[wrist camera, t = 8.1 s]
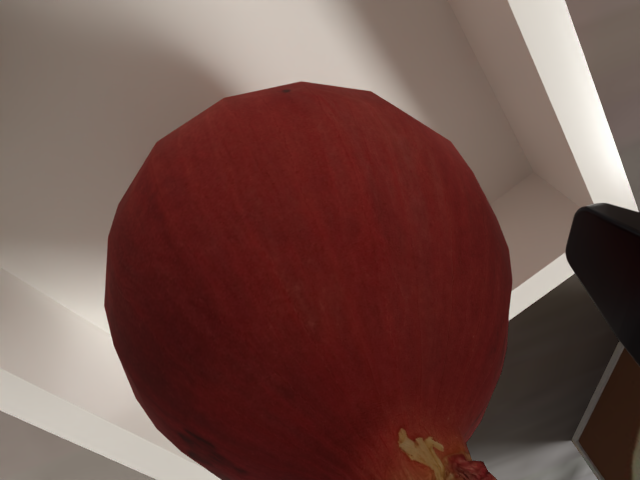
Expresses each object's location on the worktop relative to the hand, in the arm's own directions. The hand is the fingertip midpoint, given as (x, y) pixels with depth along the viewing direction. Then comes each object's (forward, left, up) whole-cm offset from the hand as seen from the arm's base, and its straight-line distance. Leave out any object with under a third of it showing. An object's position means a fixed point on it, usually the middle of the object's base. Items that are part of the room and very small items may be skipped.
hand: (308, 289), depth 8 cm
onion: (0, 0, -4) cm, 4 cm away
